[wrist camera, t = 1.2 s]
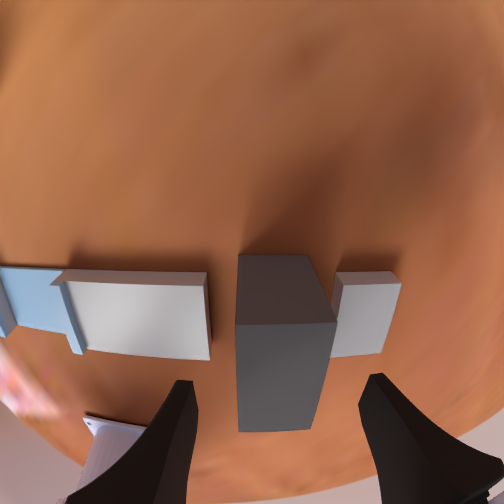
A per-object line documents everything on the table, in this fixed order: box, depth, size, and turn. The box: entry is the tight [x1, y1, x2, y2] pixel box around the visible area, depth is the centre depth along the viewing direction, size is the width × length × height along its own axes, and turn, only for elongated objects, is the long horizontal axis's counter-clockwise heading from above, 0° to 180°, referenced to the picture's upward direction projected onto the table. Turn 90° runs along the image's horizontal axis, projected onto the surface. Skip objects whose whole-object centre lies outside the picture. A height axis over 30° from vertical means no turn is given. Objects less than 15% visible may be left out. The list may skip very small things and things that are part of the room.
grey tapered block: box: [235, 255, 338, 432], centre depth 14 cm, size 7×4×6 cm, turn 0°
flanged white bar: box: [0, 266, 402, 360], centre depth 16 cm, size 5×30×2 cm, turn 90°
